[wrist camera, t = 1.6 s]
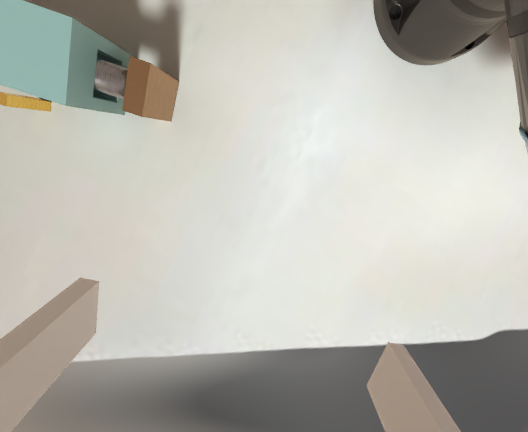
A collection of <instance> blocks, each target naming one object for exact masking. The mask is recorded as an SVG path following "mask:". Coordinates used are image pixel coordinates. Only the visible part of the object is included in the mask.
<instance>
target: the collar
mask: <svg viewBox="0 0 528 432" xmlns="http://www.w3.org/2000/svg"><path fill="white" fill-rule="evenodd" d="M130 56H131V57H133V55H131V54H129V53H128V52H126V51H125V50H123V49H121V48H120V47H118V46H117V45H115V44H113V43H112V42H110V41H109V40H107V39H106V38H104V37H102V36H101V35H99V34H98V33H96V32H94V31H93V30H91V29H90V28H88V27H86V26H85V25H83V24H82V23H80V22H78V21H77V20H75V19H74V18H72V17H69V16H66V15H63V14H60V13H58V12H55V11H52V10H49V9H46V8H43V7H41V6H38V5H35V4H32V3H29V2H27V1H24V0H0V85H3V86H6V87H9V88H12V89H15V90H18V91H22V92H25V93H28V94H31V95H34V96H37V97H40V98H43V99H46V100H50V101H53V102H56V103H59V104H62V105H65V106H71V107H77V108H84V109H90V110H96V111H103V112H109V113H115V114H122V115H125V111H123V110H122V107H123V100H124V99H121V98H118V97H115V96H112V95H109V94H106V93H103V92H100V91H97V90H94V80H95V71H96V61H97V58H98V59H101V60H104V61H107V62H110V63H113V64H116V65H119V66H122V67H124V68H127V69H128V64H129V57H130Z"/></svg>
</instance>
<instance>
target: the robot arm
mask: <svg viewBox="0 0 528 432" xmlns="http://www.w3.org/2000/svg"><path fill="white" fill-rule="evenodd" d="M374 14H375V19H376V24H377V27H378V30H379V32H380V35H381V37H382V39H383V40H384V42H385V43H386V45H387V46H388V47H389V48H390V50H391V51H392V52H393V53H395V54H396V55H397V56H398V57H400V58H402V59H403V60H405V61H408V62H410V63H414V64H418V65H435V64H440V63H443V62H446V61H449V60H451V59H454V58H456V57H459V56H461V55H463V54H465V53H467V52H469V51H470V50H472V49H474V48H475V47H477V46H478V45H479V44H481V43H482V42H483V41H485V40H486V39H487V38H488V37H489V36H490V35H491V34H492V33H493V32H494V31H496V30H497V29H498V28H499V27H500V26H501V25H502V24H503V23H504V22H505V21H506V20H507V25H508V32H509V37H510V38H509V42H510V48H511V55H512V61H513V68H514V75H515V81H516V89H517V97H518V105H519V113H520V120H521V122H520V127H519V132H520V135H521V136H522V138H523V139H524V140H525V144H526V148H527V153H528V0H374ZM98 288H99V281H94V280H89V279H84V278H79V279H78V280H77V281H75V282H74V283H73V284H72V285H70V286H69V287H68V288H66V289H65V290H64V291H62V292H61V293H60V294H59V295H57V296H56V297H55V298H53V299H52V300H51V301H49V302H48V303H47V304H46V305H44V306H43V307H42V308H40V309H39V310H38V311H37V312H35V313H34V314H33V315H31V316H30V317H29V318H27V319H26V320H25V321H24V322H22V323H21V324H20V325H18V326H17V327H16V328H14V329H13V330H12V331H11V332H9V333H8V334H7V335H5V336H4V337H3V338H1V339H0V432H11V431H12V430H13V429H14V428H15V427H16V425H17V424H18V423H19V422H20V421H21V420H22V418H23V417H24V416H25V415H26V414H27V413H28V411H29V410H30V409H31V408H32V407H33V406H34V404H35V403H36V402H37V401H38V400H39V399H40V397H41V396H42V395H43V394H44V393H45V392H46V390H47V389H48V388H49V387H50V385H52V383H53V382H54V381H55V380H56V379H57V377H58V376H59V375H60V374H61V373H62V372H63V371H64V369H65V368H66V367H67V366H68V365H69V364H70V362H71V361H72V360H73V359H74V358H75V357H76V355H77V354H78V353H79V352H80V351H81V350H82V348H83V347H84V346H85V345H86V344H87V343H88V341H89V340H90V339H91V338H92V337H93V336H94V334H95V333H96V322H97V305H98ZM367 388H368V390H369V393H370V395H371V398H372V400H373V403H374V405H375V407H376V410H377V413H378V415H379V417H380V420H381V422H382V425H383V427H384V429H385V432H461V431H460V430H459V428H458V427H457V425H456V424H455V422H454V421H453V419H452V418H451V416H450V415H449V413H448V412H447V410H446V409H445V407H444V406H443V404H442V403H441V401H440V400H439V398H438V397H437V395H436V394H435V392H434V391H433V389H432V388H431V386H430V385H429V383H428V382H427V380H426V378H425V377H424V375H423V374H422V373H421V371H420V369H419V368H418V366H417V365H416V363H415V362H414V361H413V359H412V357H411V356H410V354H409V353H408V352H407V350H406V348H405V347H404V346H403V345H399V344H394V343H389V342H388V344H387V346H386V348H385V350H384V352H383V354H382V356H381V358H380V360H379V362H378V364H377V366H376V368H375V370H374V372H373V374H372V376H371V378H370V380H369V382H368V384H367Z"/></svg>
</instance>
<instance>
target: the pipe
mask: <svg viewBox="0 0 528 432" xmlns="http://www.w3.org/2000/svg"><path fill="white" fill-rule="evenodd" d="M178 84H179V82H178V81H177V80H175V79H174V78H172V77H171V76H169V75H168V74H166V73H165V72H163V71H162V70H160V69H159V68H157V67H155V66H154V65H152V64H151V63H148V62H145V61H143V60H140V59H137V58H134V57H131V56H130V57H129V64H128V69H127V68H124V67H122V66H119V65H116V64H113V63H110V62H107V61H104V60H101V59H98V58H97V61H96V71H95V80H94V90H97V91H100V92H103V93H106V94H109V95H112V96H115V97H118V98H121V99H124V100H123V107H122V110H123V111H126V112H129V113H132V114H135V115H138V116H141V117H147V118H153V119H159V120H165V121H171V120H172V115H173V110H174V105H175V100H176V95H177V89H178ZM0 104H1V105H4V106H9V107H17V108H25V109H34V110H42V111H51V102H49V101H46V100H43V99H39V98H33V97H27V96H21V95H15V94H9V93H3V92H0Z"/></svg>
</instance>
